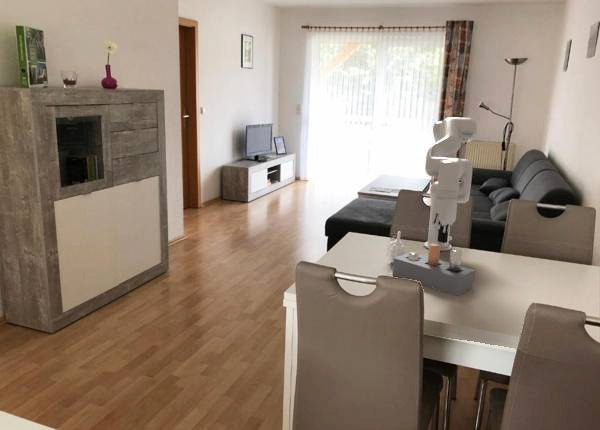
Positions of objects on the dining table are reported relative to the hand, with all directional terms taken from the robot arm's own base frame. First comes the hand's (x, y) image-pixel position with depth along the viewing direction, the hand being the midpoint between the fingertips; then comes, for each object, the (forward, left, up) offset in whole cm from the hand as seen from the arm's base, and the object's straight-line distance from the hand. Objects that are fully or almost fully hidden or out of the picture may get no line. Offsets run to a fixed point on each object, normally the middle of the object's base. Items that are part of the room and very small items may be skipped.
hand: (442, 241), depth 189 cm
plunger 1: (0, -12, -16) cm, 20 cm away
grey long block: (0, -3, -17) cm, 17 cm away
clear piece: (0, +6, -10) cm, 12 cm away
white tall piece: (-7, -25, -17) cm, 31 cm away
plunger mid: (0, -3, -10) cm, 11 cm away
